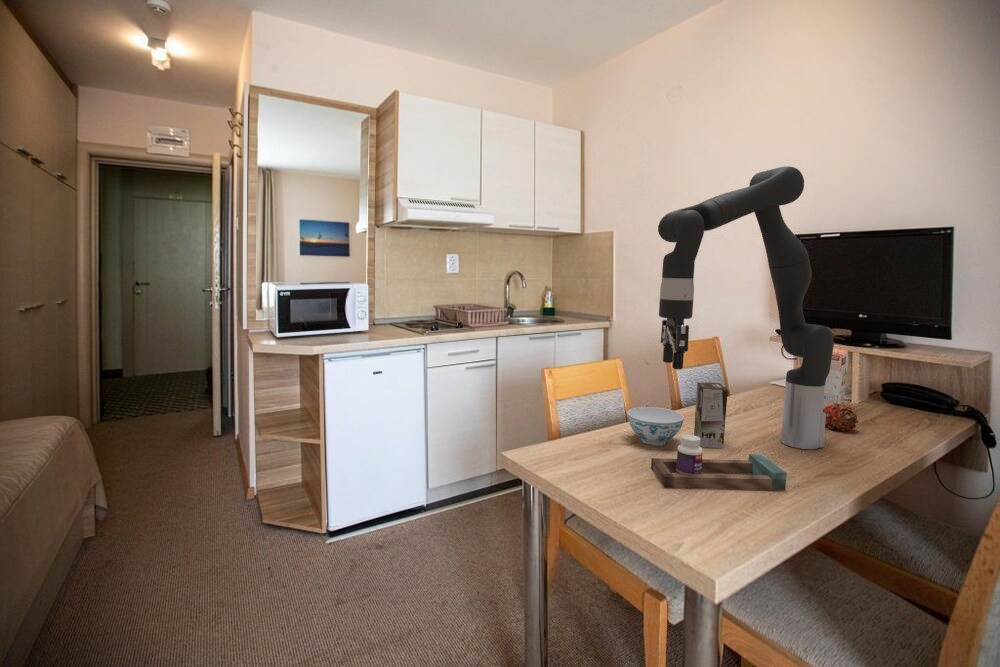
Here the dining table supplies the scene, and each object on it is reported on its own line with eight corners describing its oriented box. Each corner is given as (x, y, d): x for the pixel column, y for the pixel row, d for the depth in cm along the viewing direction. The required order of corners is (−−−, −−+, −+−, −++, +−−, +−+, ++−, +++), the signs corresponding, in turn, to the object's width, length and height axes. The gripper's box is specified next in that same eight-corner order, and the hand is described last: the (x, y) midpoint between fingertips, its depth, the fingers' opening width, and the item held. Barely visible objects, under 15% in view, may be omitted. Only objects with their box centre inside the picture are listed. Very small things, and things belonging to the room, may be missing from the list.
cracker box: (837, 416, 166) (844, 354, 164) (816, 413, 170) (822, 352, 167) (844, 408, 177) (850, 349, 174) (824, 405, 181) (830, 347, 178)
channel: (760, 470, 120) (761, 454, 120) (785, 490, 110) (786, 472, 109) (651, 468, 121) (651, 452, 121) (664, 487, 110) (665, 470, 110)
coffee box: (724, 449, 135) (728, 389, 133) (698, 447, 136) (702, 388, 134) (717, 438, 144) (720, 382, 142) (693, 436, 145) (696, 381, 143)
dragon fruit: (855, 440, 147) (817, 434, 159) (871, 421, 150) (832, 416, 161) (842, 419, 146) (804, 413, 157) (858, 399, 148) (819, 395, 159)
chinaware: (621, 432, 148) (622, 406, 147) (672, 433, 148) (674, 407, 147) (632, 450, 133) (634, 421, 132) (690, 451, 133) (691, 423, 132)
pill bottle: (698, 485, 112) (701, 442, 111) (673, 479, 115) (675, 438, 113) (703, 477, 116) (705, 436, 115) (678, 471, 119) (681, 432, 118)
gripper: (702, 299, 112) (698, 371, 114) (683, 296, 126) (679, 360, 128) (668, 299, 112) (664, 370, 114) (653, 295, 126) (649, 359, 128)
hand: (672, 365), depth 121 cm, fingers open, 8 cm apart
